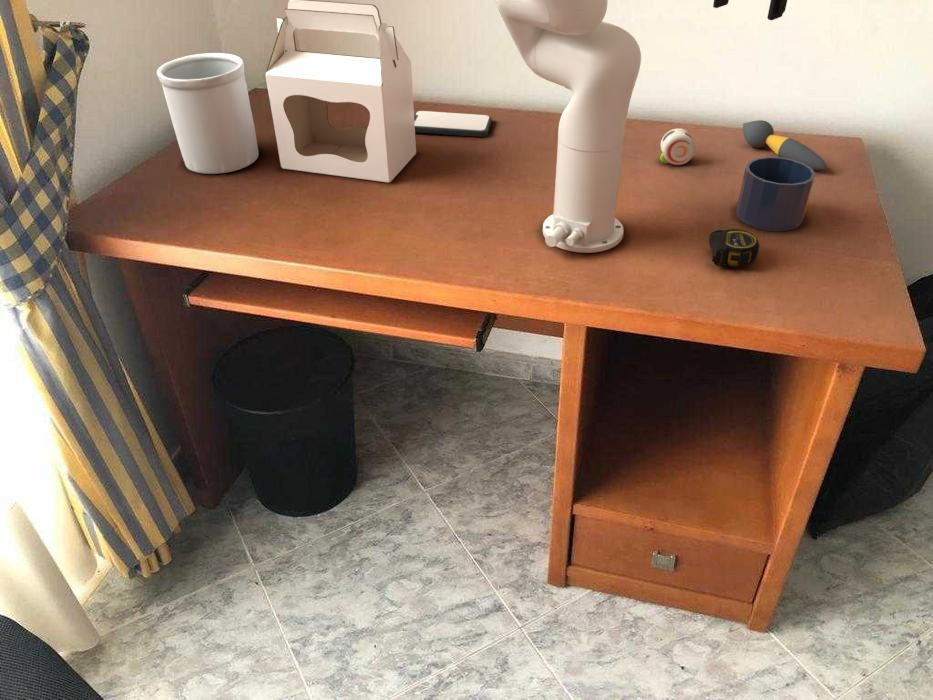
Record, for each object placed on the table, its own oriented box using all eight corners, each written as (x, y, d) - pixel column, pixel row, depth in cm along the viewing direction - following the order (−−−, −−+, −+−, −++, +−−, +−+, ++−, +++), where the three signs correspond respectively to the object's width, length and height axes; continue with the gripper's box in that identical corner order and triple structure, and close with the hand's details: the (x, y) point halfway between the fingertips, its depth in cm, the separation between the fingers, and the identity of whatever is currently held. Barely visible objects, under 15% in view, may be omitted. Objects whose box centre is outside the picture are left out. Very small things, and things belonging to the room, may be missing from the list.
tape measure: (706, 246, 119) (710, 225, 117) (752, 250, 118) (758, 228, 116) (709, 270, 114) (714, 248, 112) (758, 274, 113) (763, 251, 111)
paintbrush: (835, 169, 140) (843, 142, 137) (820, 176, 138) (827, 150, 135) (743, 135, 153) (749, 110, 150) (727, 142, 150) (732, 117, 147)
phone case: (492, 122, 161) (416, 117, 163) (492, 114, 160) (416, 109, 162) (486, 139, 154) (407, 133, 156) (486, 131, 153) (406, 126, 155)
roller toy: (656, 156, 146) (660, 126, 142) (690, 156, 146) (695, 126, 142) (660, 166, 142) (664, 135, 139) (695, 166, 142) (700, 135, 138)
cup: (794, 237, 121) (807, 190, 116) (728, 222, 125) (738, 175, 120) (808, 210, 128) (821, 164, 123) (745, 196, 132) (755, 152, 127)
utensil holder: (165, 172, 143) (139, 76, 132) (205, 140, 155) (184, 49, 144) (238, 179, 140) (218, 82, 130) (273, 146, 152) (257, 54, 141)
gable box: (279, 168, 144) (251, 7, 127) (312, 141, 154) (290, -12, 136) (391, 183, 138) (378, 17, 121) (417, 154, 148) (409, -4, 131)
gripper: (703, -117, 114) (686, 6, 125) (812, -105, 104) (783, 28, 114) (733, -124, 118) (714, -3, 129) (841, -112, 108) (810, 18, 118)
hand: (746, 12), depth 122 cm, fingers open, 9 cm apart
